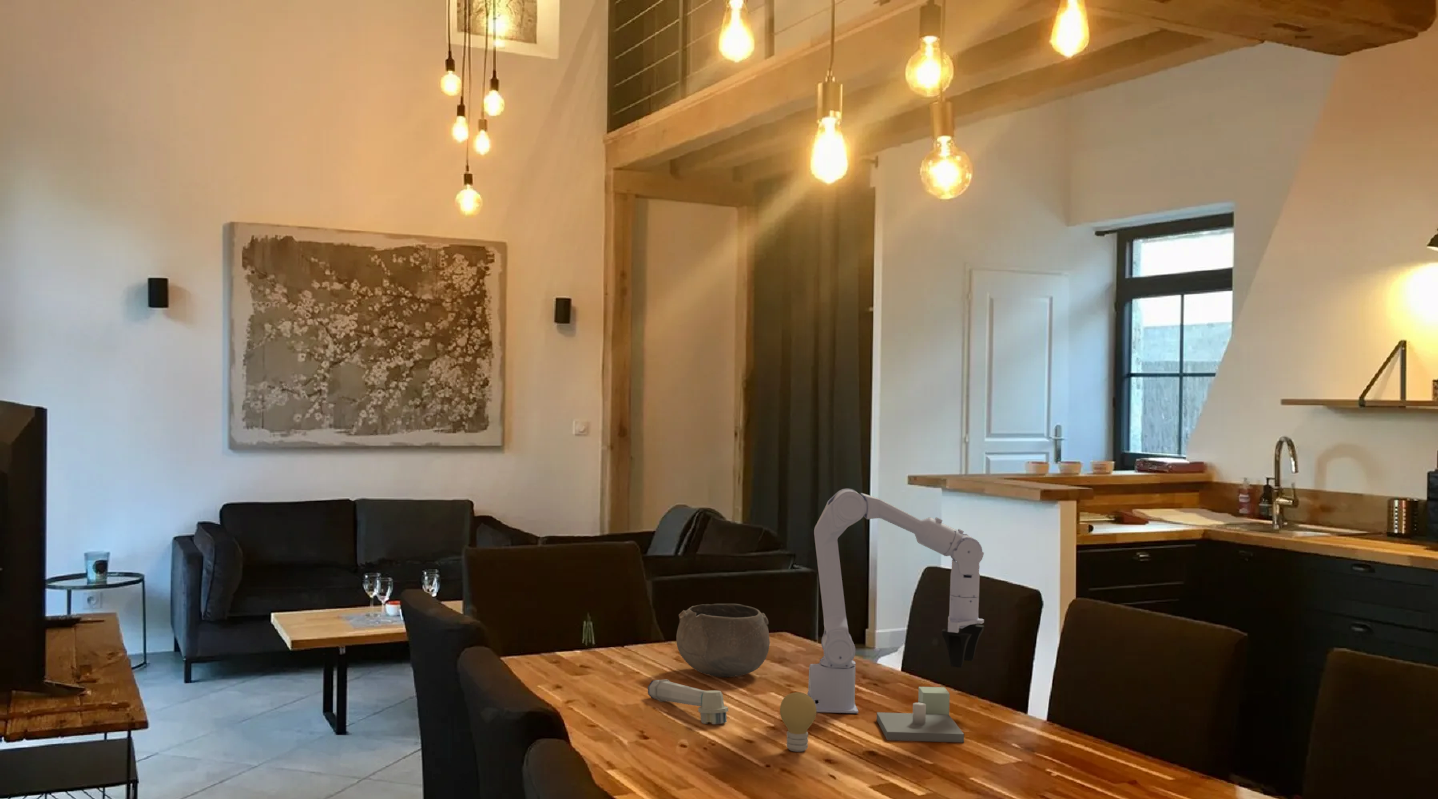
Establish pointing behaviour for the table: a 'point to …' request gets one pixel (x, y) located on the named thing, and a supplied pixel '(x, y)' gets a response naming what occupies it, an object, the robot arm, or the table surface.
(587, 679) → the table surface
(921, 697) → the pale green cube
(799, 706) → the light bulb
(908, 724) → the post board
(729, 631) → the clay pot
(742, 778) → the table surface
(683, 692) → the toothbrush head
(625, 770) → the table surface
